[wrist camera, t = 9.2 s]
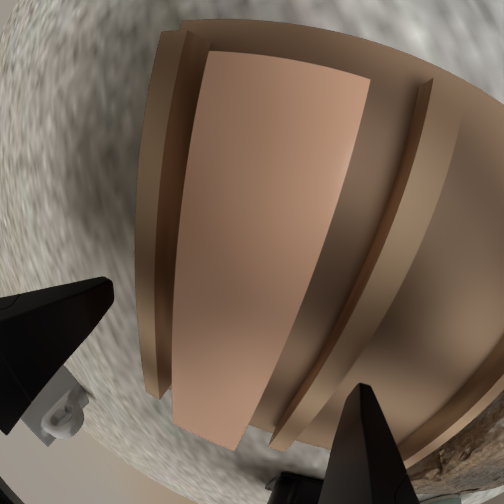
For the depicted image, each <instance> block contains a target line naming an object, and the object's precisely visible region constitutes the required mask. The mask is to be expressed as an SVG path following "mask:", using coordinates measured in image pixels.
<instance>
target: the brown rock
mask: <svg viewBox="0 0 504 504" xmlns="http://www.w3.org/2000/svg"><path fill="white" fill-rule="evenodd" d="M406 470H407V474H408V475H409V477H410V480H411V483H412V485H413V488H414V490H415V493H416V494H435V493H438V494H440V495H441V494H453V493H456V494H460V493H473V492H477V491H484V490H488V489H492V488H496V487H499V486H502V485H504V391H502V392H501V393H500V394H499V395H498V396H497V397H496V398H495V399H494V400H493V401H492V402H491V403H490V404H489V405H488V406H487V407H486V408H485V409H484V410H483V411H482V412H481V413H480V414H479V415H478V416H477V417H475V418H474V419H473V420H472V421H471V422H470V423H469V424H467V425H466V426H465V427H464V428H463V429H462V430H460V431H459V432H458V433H457V434H455V435H454V436H453V437H452V438H450V439H449V440H448V441H447V442H445V443H444V444H443V445H441V446H440V447H439V448H437V449H436V450H434V451H433V452H432V453H430V454H429V455H427V456H426V457H424V458H423V459H421V460H420V461H418V462H417V463H415V464H414V465H412V466H410V467H409V468H407V469H406Z"/></svg>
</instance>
